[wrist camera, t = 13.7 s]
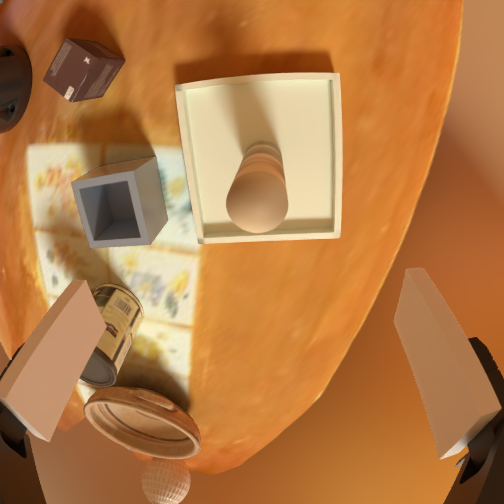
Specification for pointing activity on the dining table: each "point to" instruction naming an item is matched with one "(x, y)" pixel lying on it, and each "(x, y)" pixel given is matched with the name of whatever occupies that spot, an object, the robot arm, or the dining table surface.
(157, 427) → the ceramic bowl
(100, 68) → the box
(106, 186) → the grey square bin
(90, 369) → the coffee can
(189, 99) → the tray
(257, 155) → the dowel
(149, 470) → the vase
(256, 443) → the dining table surface
